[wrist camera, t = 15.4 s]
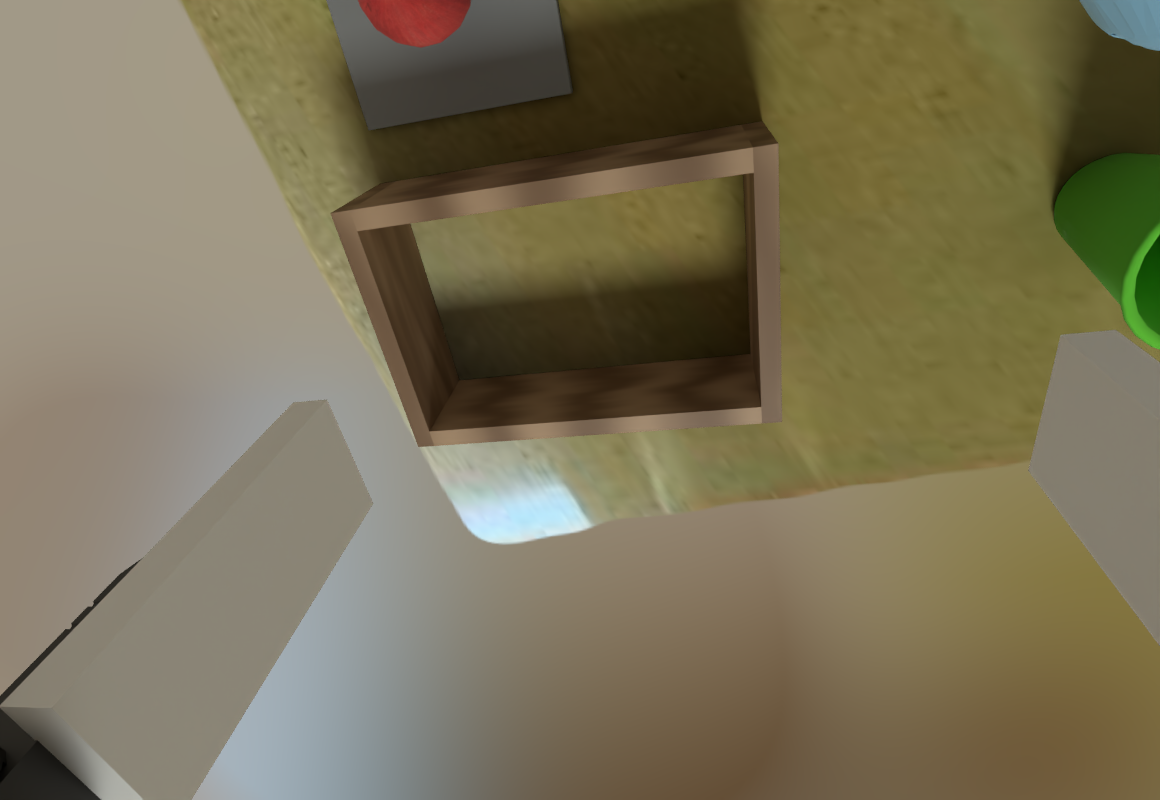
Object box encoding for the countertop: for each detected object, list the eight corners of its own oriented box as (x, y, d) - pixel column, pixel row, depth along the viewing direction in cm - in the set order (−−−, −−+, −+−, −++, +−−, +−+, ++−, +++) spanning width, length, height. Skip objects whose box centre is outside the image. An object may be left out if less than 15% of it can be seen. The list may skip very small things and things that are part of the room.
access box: (762, 121, 36) (778, 143, 31) (768, 367, 45) (781, 421, 39) (379, 183, 41) (330, 213, 36) (449, 394, 50) (418, 446, 44)
